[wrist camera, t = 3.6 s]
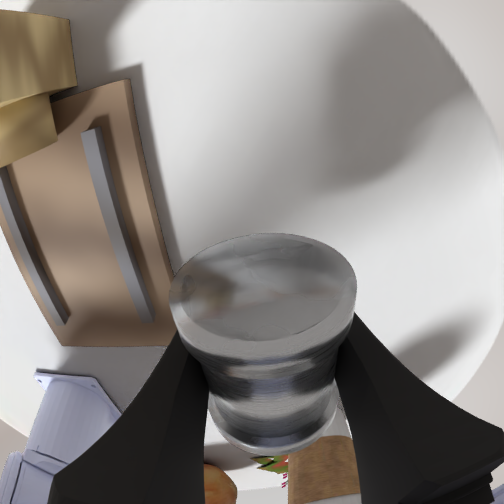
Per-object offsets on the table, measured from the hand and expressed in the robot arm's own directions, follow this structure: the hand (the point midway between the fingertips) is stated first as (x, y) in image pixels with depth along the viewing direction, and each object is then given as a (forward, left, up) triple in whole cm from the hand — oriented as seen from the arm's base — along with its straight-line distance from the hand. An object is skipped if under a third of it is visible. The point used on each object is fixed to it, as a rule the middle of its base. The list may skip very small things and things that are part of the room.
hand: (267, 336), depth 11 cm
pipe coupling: (0, 0, -2) cm, 2 cm away
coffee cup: (-23, -4, -9) cm, 25 cm away
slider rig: (+3, +11, -8) cm, 14 cm away
